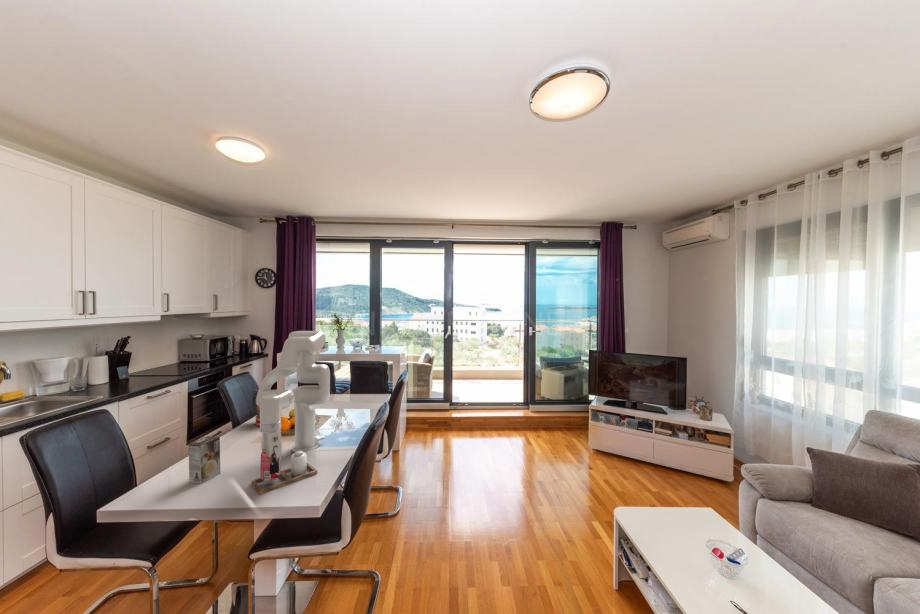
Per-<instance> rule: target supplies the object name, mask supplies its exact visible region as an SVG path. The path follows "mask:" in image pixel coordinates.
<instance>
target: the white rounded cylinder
mask: <svg viewBox="0 0 920 614" xmlns="http://www.w3.org/2000/svg"><path fill="white" fill-rule="evenodd" d="M307 457H308V456H307V453H306V452H303V451H296V452H294V453H292V454H291V455H290V468H291V472H290V473H291V476H292V477H297V476H300V475H303V474H306V473H307V470H308V469H307V463H308V462H307Z"/></svg>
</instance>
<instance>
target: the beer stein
mask: <svg viewBox="0 0 920 614" xmlns="http://www.w3.org/2000/svg"><path fill="white" fill-rule="evenodd" d="M258 390H259V389H258ZM258 390H257V389H253V394H251V395H250V397H251V398H252V399H251V405H252V407H253V410H254V414H255V415H256V416H255V425H256V427H257V426H258V427H260V407H258V405H257V403H256V398H257V393H258ZM281 416H282V417H283V413H282V412H281Z"/></svg>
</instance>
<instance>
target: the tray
mask: <svg viewBox="0 0 920 614" xmlns="http://www.w3.org/2000/svg"><path fill="white" fill-rule="evenodd" d="M317 474H318V469H316V468H315V467H313V466H312V465H310V464H309V463H308V462H307V473H306V474H303V475H300V476H297V477H292V476H291V467H288V468H285V469H282V470H280V475H279V476H278V477H279V478H276V479H274V480H271V481H265V480H262V479H261V477H258V478H255V479H252V480H251V481H250V484H251V486H252V487H254V489H255V490H256V491H257V493H259V495H262V494H266V493H268V492H271V491H274V490H276V489H280V488H282V487H284V486H288V485H290V484H294V483H297V482H298V481H301V480H304V479H307V478H310V477H312V476H315V475H317ZM259 483H260V484H259Z"/></svg>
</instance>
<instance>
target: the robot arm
mask: <svg viewBox="0 0 920 614" xmlns="http://www.w3.org/2000/svg"><path fill="white" fill-rule="evenodd" d="M326 340H327V339H326V334H325V333H324V332H323V331H320V330H297V331H291V332H290V333H289V334H288V338H286V340H285V341H284V343H283V346H282V347H283V348H282V350H281V353H280V357H279V360H278V363H277V366H276V367H275V368H273V369H272V370H271V371H269V373H267V374H266V375H265V377H264V378H263V379H262V380H261V382H260V385H259V386H258V393H257V398H256V399H255V403H256V405H258V407H260V426H259V432H260V433H261V439H260V440H261V441H260V442H261V444H260V445H261V452H262V451H263V450H265V451H266V453H267V455H268V457H270V461H271V464H270V474H271V475H272V474H275V473H278V472H279V458H280V457H281V455H282V454H283V442H282V433H281V432H282V431H281V430H282V422H281V413H282V410H283V409H288V408H290V407H291V406H292V405H294V406H293V407H294V444H293V445H292V446H291V451H292V452H293V453H295V452H296V451H303V452H305V453H306V452H309V451H312V450H316V449H317V448H319V441H324V440H325V435H322V436H321V435H317V436H316V411H315V409H314V407H313V406H314V405H315V406H320V405H321V406H322V405H326V404H328V403H329V400H330V397H331V395H330V394H331V370H330V368H329V366H328V365H327V364H322V363H320V364H319V363H316V354H317V353H318V352H319V351H320V350H322V348H323V347H324V346H325V344H326ZM295 373H296V380H297V382H298V383H301V384H318V385H300V386H297V387H296V388H294V390H293V391H292V390H290V389H271V388H272V386H273V385H274V384H275V383H277V382H278V381H280V380H282V379H284V378H287V377H288V376H290V375H293V374H295ZM271 454H275V455H273V456H272V455H271ZM273 457H275V459H274V460H273Z"/></svg>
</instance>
